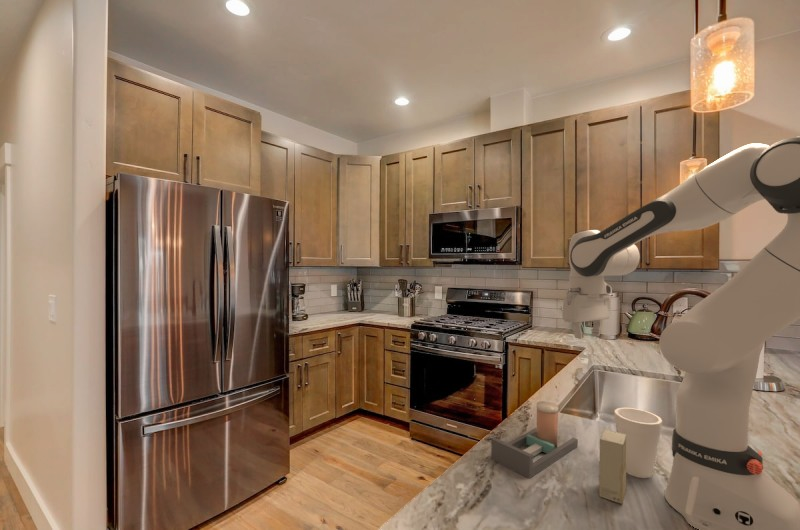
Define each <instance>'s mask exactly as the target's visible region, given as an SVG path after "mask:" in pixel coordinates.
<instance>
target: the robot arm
mask: <svg viewBox="0 0 800 530" xmlns="http://www.w3.org/2000/svg"><path fill="white" fill-rule="evenodd" d="M763 200H766V201H767V203H768V204H770V205H769V206H771V207H772V208H773V209H774V211H776V212H777V213H778V214H786V215H787V221H786V224H785V225H784V226H783V227H784V228H782V230H781V231H780V232H779V233H778V234H777V235H776V236H775V237H774V238H773V239H772V240H771V241H770V242H769V243H767V244H766V245H765V246H764V247H763V248H762V249H761V250H760V251H759V252H758V253H757V254H756V255H755V256H754V257H753V258H751V259H750V261H748V262H747V263H746V264H745V265H743V267H742V268H741V269H740V270H739V271H737V273H736V274H735V275H733V276H732V277H731V278H730V279H728V280H727V281H726V282H725V283H724V284H722V285H721V286H720V287H718V288H716V289H715V290H714V291H713V292H711V293H710V294H709V295H707V296H706V297H704V298H703V299H702V300H700V301H699V302H698V303H697V304H695V305H694V306H693V307H691V308H690V309H689V310H687V311H686V312H685V313H684V314H682V315H681V316H680V317H679V318H677V319H676V320H675V321H673V322H672V323H670V324H668V326H666V327H665V328H664V329H663V330H662V331H661V334H660V335H659V336H660V337H659V348H660V353H661V354H662V356H663V357H664V359H665V361H667V362H668V363H669V364H670V365H671V366H672V367H674V368H676V369H678V370H679V371H682V372H684V376H683V379H682V382H681V384H680V386H679V387H678V388H677V391H676V397H675V398H676V399H675V401H676V403H675V405H676V406H675V428H673V431H672V434H671V435H672V436H671V452H672V453H671V454H672V457H673V459H672V466H671V472H670V476H669V480H668V482H667V485H666V486H665V490H664V492H663V496H664V498H665V500H666V502H667V503H668V504H669V506H671V507H672V508H673V509H674V510H675V511H677V512H678V513H679V514H680V515H682V516H683V518H684V519H685V521H686V522H687V523H688V525H689V524H690V525H691V527H692V526H693V527H694V528H693V527H692V528H693V529H695V528H697V529H700V530H800V503H799V502H798V501H797V499H796V498H795V497H793V495H792V494H790V493H789V492H788V491H786V490H785V489H784V488H783V487H782V486H781V485H780V484H779V483H777V482H776V481H775V480H773V479H772V478H771V477H770V476H769V475H768V474H766V473H765V471H763V470H764V465H763V463H764V462H763V457H762V455H763V454H762V451H761V450H759V451H758V452H756V450H754V449H753V448H752V447H751V446H750V445H749V424H750V423H749V422H750V420H749V419H750V416H749V415H750V406H751V400H752V395H753V391H754V386H755V383H756V378H757V373H758V369H759V362H760V356H761V352H762V350H763V347H764V344H765V342H766V341H768V340H769V339H771V338H772V337H773V336H775V335H777V334H778V333H780V332H781V331H782V330H784V329H786V328H788V327H789V326H790V325H792V324H794V323H795V322H797V321H798V320H799V319H800V136H794V137H788V138H784V139H782V140H779V141H776V142H774V143H773V144H770V145H768V144H764V143H749V144H746V145H743V146H741V147H739V148H737V149H734V150H733V151H730V152H729V153H726V155H724V156H722V157H720V158H718V159H717V160H715V161H714V162H711V163H710V164H708V165H707V166H705V167H704V168H702V169H701V170H700V171H698V172H696V173H694V174H693V175H692V176H690V177H689V178H688V179H686V180H685V181H683V182H682V183H680V184H678V186H677V185H676V187H674V188H672V189H671V190H669V191H668V192H666V193H665V194H663V195H661V196H659V197H657V198H655V199H654V200H652V201H650V202H648V203H647V204H645V205H643V206H641V207H639V208H638V209H635V210H633V211H632V212H631V213H628V214H627V215H626V216H625V217H622V218H620V219H619V220H618V221H616V222H615V223H613V224H611V225H610V226H608V227H606V228H605V229H603V230H598V229H586V230H579V231H578V232H576V233H574V234H573V235H572V236H571V238H570V242H569V246H568V247H569V248H568V264H569V267H570V272H569V278H568V279H569V288H568V290H567V292H566V294H565V295H564V298H563V304H562V320H563V321H564V322H565V323H571V327H572V330H573V332H574V338H575V339H576V340H577V339H578V340H579V339H580V340H581V339H584V332H583V331H582V325H583V324H582V323H585V322H592V323H593V325H592V326H593V327H592V328H591V336H594V337H599V336H600V335H601V328H602V325H603V320H609V319H610V316H611V313H612V312H611V308H612V307H611V305H612V304H611V303H612V302H611V294H612V290H613V288H612V286H611V285H610V284H608V283H607V282H606V281H605V276H606V277H607V276H609V277H611V276H626V275H629V274H632V273H634V272H635V271H636V270H637V268H638V267H639V264H640V263H641V253H640V249H639V247H638V246H637V245H636V244H637V243H639V242H641V241H643V240H645V239H647V238H649V237H652V236H656V235H659V234H660V235H661V234H665V233H666V234H667V233H674V232H686V231H687V232H688V231H698V230H702V229H703V230H704V229H706V228H708V227H711V226H713V225H716V224H719V223H721V222H723V221H725V220H727V219H728V218H729V219H730V218H731V217H732V216H734V215H736V214H737V213H739V212H741V211H743V210H744V209H745V208H748V207H749V206H752V205H754V204H755V203H757V202H759V201H763ZM690 525H689V526H690ZM697 529H696V530H697Z"/></svg>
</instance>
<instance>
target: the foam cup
mask: <svg viewBox="0 0 800 530" xmlns="http://www.w3.org/2000/svg"><path fill="white" fill-rule="evenodd" d="M613 414H614V416H613V417H614V419H613V420H614V424H615V430H616V431H615V432H618V433H622V434H626V474H628V475H630V476H633V477H637V478H638V479H639V478H640V479H649V478H651V477H652V476H653V474H654V469H655V466H656V465H655V464H656V459H657V456H658V455H657V454H658V448H659V445H660V444H659V442H660V438H661V433H662V432H663V419H662V418H661V417H660V416H658V415H656V414H655V413H654V412H653V413H652V412H649V411H648V410H647V411H646V410H644V409H639V408H634V407H618V408H616V409H614V413H613Z"/></svg>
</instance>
